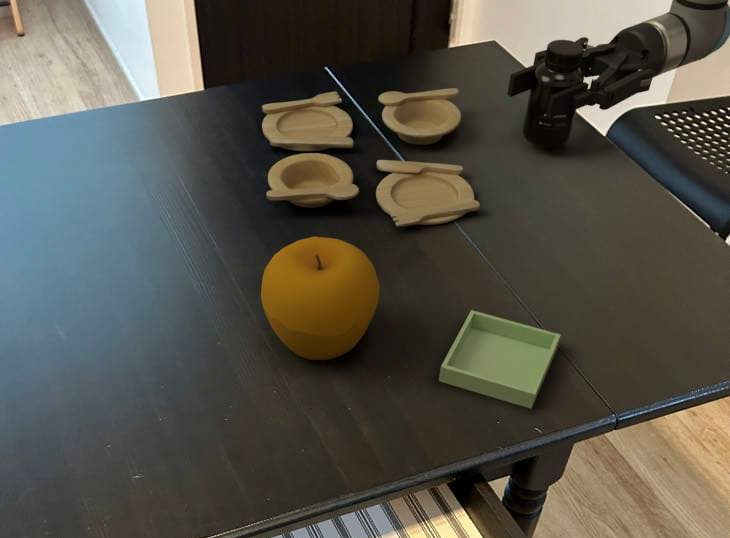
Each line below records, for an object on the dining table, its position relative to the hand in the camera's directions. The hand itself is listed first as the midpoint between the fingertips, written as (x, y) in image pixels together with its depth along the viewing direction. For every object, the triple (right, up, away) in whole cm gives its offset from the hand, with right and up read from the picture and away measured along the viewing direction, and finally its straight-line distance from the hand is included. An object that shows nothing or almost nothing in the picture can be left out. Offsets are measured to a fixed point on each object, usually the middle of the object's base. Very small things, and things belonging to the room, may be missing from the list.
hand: (530, 96), depth 111 cm
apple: (-28, -37, -16) cm, 49 cm away
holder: (-8, -41, -19) cm, 46 cm away
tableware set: (-22, -7, +6) cm, 24 cm away
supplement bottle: (+4, -2, +8) cm, 9 cm away
